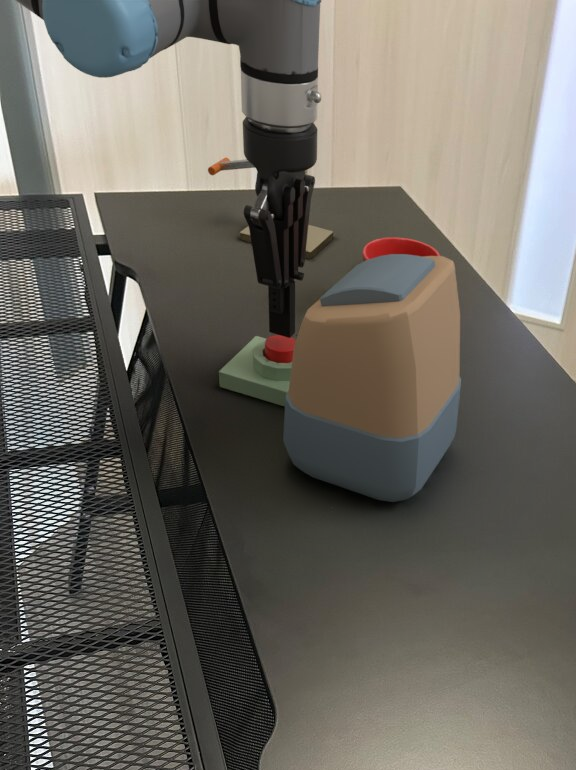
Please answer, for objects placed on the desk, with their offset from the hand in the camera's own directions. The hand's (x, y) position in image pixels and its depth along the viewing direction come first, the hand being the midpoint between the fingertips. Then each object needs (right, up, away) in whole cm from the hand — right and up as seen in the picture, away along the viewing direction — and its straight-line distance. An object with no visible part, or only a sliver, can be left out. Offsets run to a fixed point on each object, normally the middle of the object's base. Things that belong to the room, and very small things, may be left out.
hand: (282, 332), depth 103 cm
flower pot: (+12, +8, +20) cm, 25 cm away
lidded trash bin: (+11, -16, -4) cm, 20 cm away
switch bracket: (-6, +25, +33) cm, 42 cm away
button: (0, -2, +2) cm, 3 cm away
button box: (-1, -5, +5) cm, 7 cm away
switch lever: (-9, +33, +27) cm, 44 cm away
